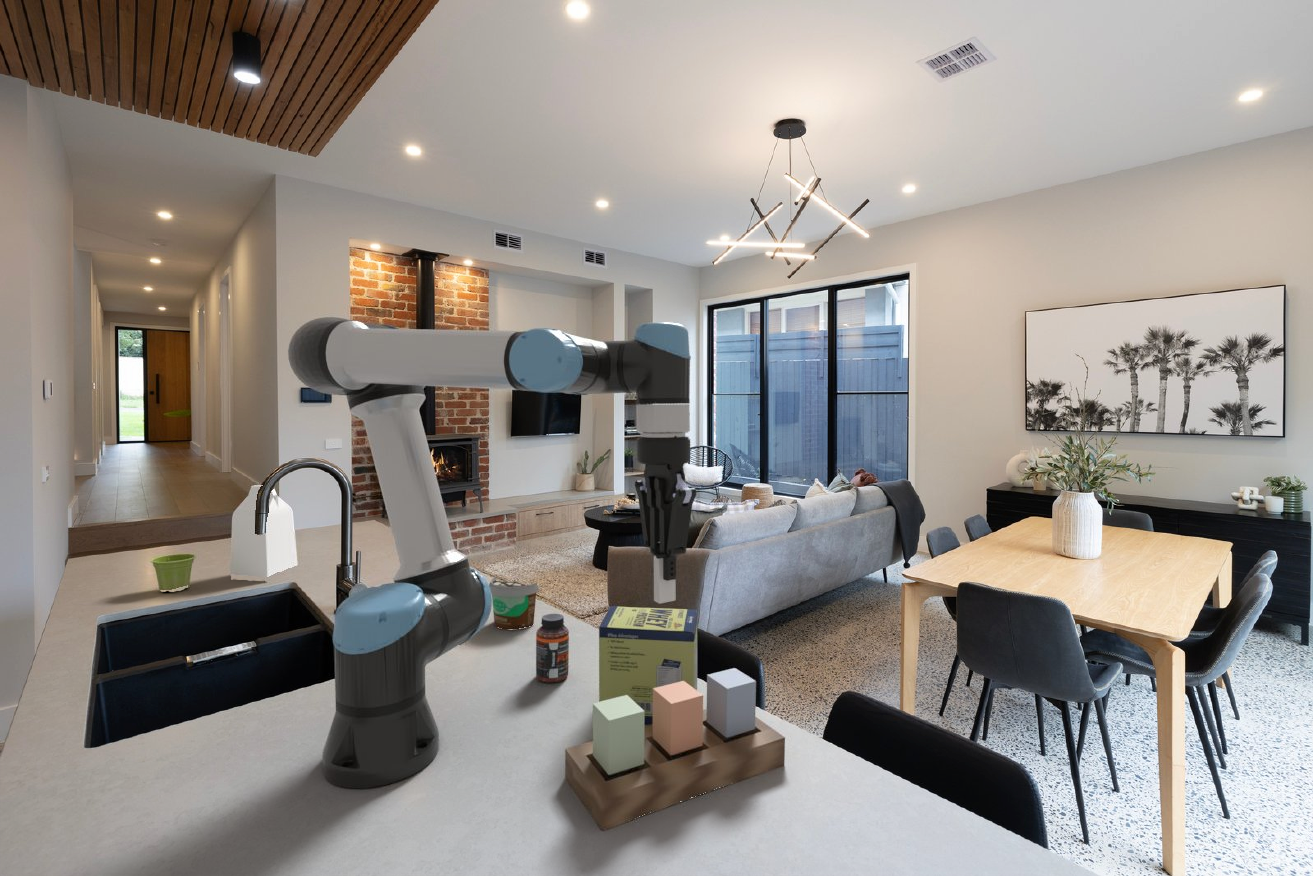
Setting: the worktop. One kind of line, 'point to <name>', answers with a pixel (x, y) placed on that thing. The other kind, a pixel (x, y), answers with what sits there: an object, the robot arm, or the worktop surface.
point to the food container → (513, 604)
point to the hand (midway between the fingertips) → (664, 600)
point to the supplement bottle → (552, 649)
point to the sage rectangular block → (618, 734)
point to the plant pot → (173, 570)
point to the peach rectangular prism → (677, 717)
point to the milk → (262, 538)
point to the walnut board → (670, 772)
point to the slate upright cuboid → (731, 702)
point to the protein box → (646, 653)
